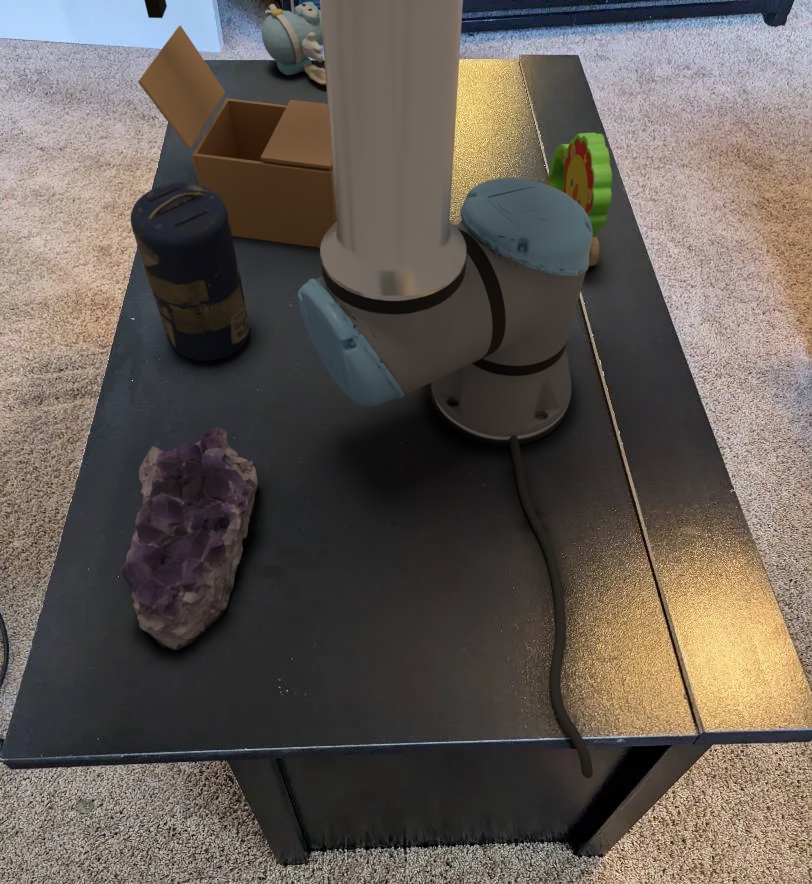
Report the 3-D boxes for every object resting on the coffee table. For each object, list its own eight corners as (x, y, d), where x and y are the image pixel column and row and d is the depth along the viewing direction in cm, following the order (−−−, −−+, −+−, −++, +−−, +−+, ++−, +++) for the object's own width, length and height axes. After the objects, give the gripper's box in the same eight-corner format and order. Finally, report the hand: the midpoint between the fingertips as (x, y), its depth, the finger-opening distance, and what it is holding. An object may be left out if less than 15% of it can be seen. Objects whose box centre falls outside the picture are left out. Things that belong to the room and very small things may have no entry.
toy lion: (529, 210, 102) (549, 93, 89) (568, 207, 103) (593, 90, 90) (560, 287, 94) (586, 171, 81) (602, 284, 94) (635, 168, 82)
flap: (140, 80, 83) (137, 81, 84) (191, 148, 89) (188, 149, 89) (180, 25, 90) (178, 26, 90) (225, 92, 96) (223, 93, 96)
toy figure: (232, -18, 115) (317, -42, 119) (244, 57, 123) (323, 33, 128) (289, 22, 107) (377, -5, 112) (298, 99, 116) (379, 72, 121)
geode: (252, 654, 67) (214, 606, 59) (128, 657, 69) (73, 611, 60) (276, 466, 77) (247, 402, 69) (168, 472, 79) (126, 410, 70)
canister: (159, 324, 89) (110, 182, 74) (235, 300, 92) (203, 157, 77) (185, 378, 85) (139, 237, 70) (264, 351, 87) (237, 209, 72)
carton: (336, 250, 97) (330, 166, 88) (209, 232, 99) (189, 148, 89) (359, 190, 104) (355, 107, 94) (239, 175, 106) (224, 91, 96)
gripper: (-8, -296, 61) (90, 27, 81) (153, -291, 61) (212, 30, 81) (19, -318, 65) (106, -6, 85) (170, -314, 65) (222, -3, 85)
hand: (157, 11), depth 83 cm, fingers closed
